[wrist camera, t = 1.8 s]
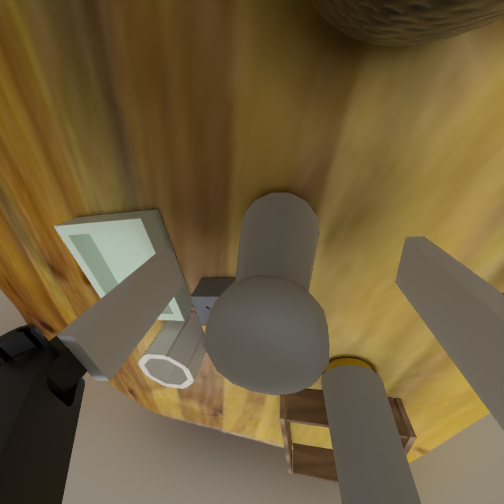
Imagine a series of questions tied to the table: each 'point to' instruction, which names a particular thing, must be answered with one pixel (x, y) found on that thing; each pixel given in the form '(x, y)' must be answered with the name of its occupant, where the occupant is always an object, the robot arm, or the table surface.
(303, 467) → the book tray
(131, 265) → the mint green tray
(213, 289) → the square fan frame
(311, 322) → the salt shaker
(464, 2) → the planter
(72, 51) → the table surface
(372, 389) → the soap bottle
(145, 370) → the octagonal gray cup
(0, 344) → the robot arm
